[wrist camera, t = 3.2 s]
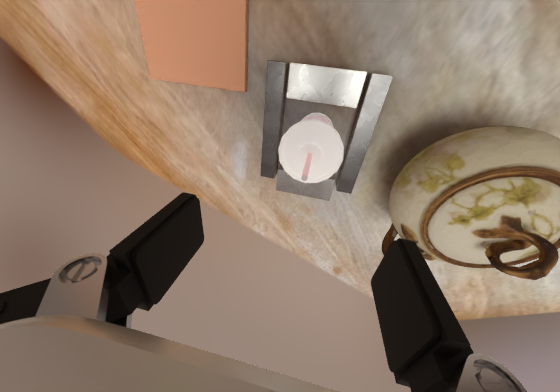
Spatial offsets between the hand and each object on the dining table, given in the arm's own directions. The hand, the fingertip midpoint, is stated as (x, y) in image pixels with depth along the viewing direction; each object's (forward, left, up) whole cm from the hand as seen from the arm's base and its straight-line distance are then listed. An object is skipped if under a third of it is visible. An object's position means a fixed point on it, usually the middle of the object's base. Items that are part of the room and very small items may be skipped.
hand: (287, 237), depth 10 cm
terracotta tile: (+16, -10, -20) cm, 28 cm away
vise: (0, 0, -20) cm, 20 cm away
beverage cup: (0, 0, -20) cm, 20 cm away
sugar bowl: (-17, +3, -20) cm, 27 cm away
